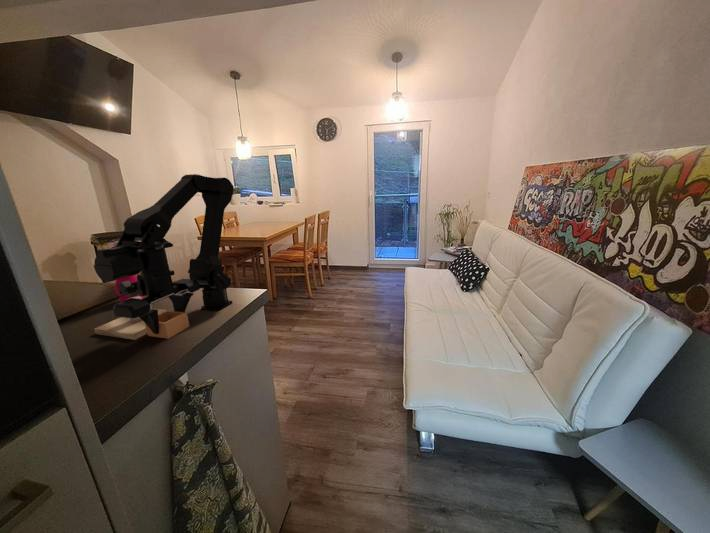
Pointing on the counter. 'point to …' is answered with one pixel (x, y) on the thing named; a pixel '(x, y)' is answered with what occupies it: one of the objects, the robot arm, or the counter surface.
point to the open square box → (170, 324)
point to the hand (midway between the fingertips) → (168, 327)
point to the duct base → (125, 327)
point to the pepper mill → (130, 278)
